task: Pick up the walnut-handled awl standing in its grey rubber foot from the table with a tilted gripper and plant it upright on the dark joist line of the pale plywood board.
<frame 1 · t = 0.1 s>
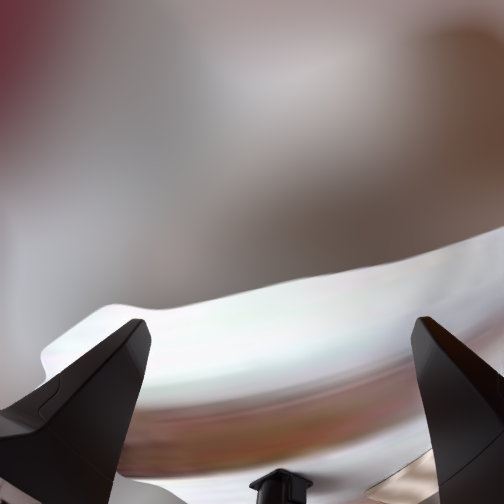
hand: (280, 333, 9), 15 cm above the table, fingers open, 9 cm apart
subfloor board: (440, 478, 31), on the table
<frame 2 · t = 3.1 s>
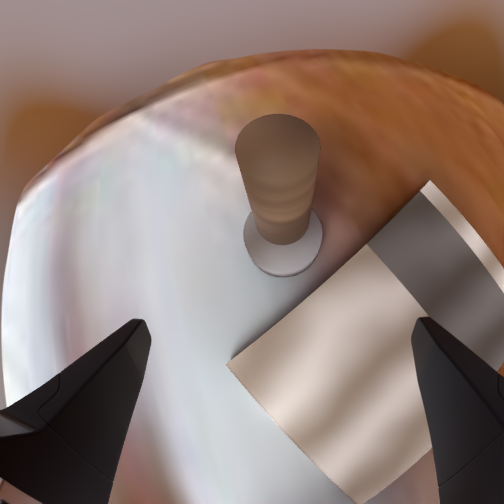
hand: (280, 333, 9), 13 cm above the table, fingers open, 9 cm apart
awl: (283, 241, 24), on the table
subfloor board: (408, 344, 20), on the table
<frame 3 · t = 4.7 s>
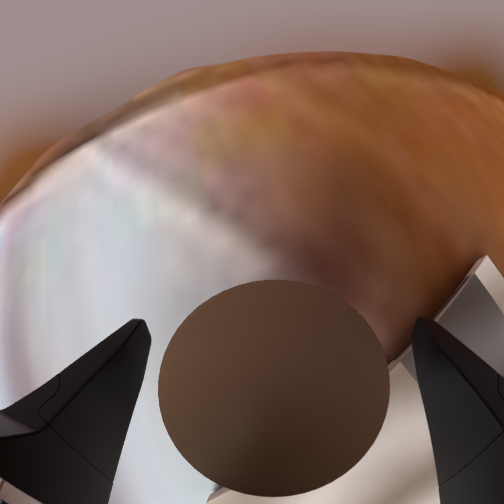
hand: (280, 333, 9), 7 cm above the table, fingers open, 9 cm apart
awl: (283, 353, 16), on the table
subfloor board: (432, 468, 13), on the table
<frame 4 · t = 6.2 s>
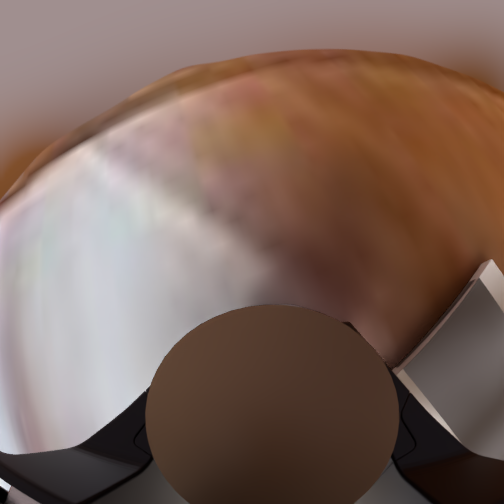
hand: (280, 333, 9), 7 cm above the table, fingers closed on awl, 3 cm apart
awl: (282, 360, 15), on the table, touching gripper
subfloor board: (433, 475, 12), on the table
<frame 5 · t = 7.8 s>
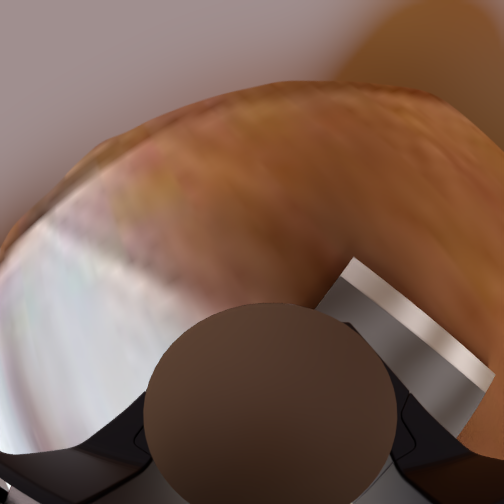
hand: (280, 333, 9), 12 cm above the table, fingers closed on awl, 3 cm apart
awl: (282, 359, 15), point 6 cm above the table, touching gripper
subfloor board: (340, 441, 19), on the table
when the fingers open (9 cm above the table, at t = 9.8 s): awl stays where it is, resting on subfloor board.
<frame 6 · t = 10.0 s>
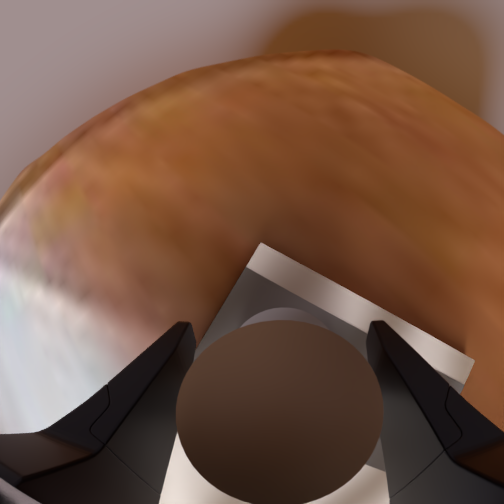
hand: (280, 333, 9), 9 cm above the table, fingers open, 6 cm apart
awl: (283, 359, 16), point 1 cm above the table, touching subfloor board
subfloor board: (282, 459, 16), on the table
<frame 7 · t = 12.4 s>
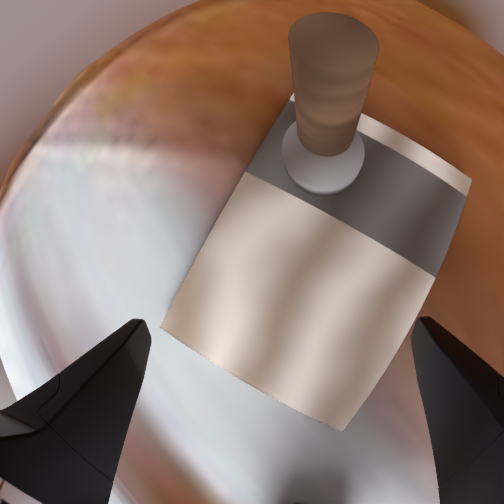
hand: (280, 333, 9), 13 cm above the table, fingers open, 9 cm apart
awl: (322, 159, 21), point 1 cm above the table, touching subfloor board
subfloor board: (327, 253, 22), on the table
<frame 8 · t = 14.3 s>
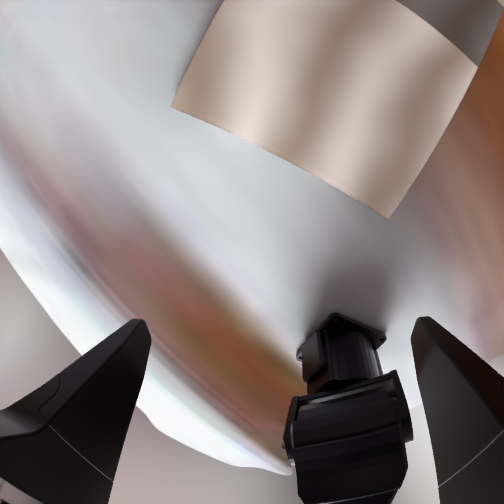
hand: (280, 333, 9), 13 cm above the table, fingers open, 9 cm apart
subfloor board: (364, 20, 14), on the table
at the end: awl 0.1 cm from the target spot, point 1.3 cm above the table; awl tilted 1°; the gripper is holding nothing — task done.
